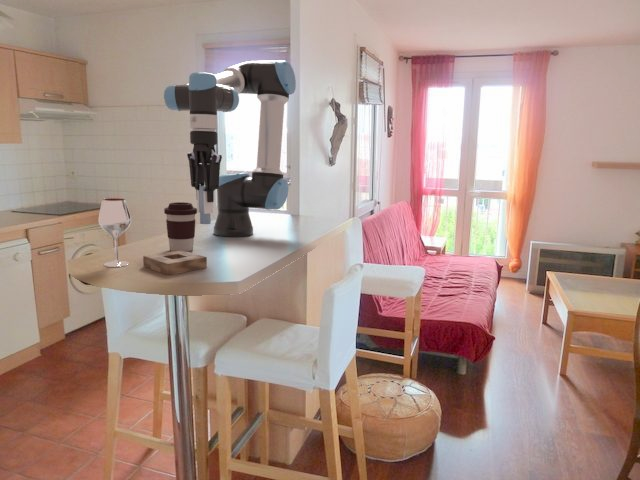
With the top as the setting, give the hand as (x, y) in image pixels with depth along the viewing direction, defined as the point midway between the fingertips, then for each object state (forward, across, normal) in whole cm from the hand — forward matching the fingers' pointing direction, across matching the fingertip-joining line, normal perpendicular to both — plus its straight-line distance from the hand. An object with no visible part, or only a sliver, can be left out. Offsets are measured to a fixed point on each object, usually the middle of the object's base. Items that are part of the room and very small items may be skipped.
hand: (205, 212), depth 141 cm
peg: (+3, 0, 0) cm, 3 cm away
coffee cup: (+14, -15, +1) cm, 21 cm away
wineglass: (+14, -10, -23) cm, 28 cm away
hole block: (+14, +3, -13) cm, 19 cm away
